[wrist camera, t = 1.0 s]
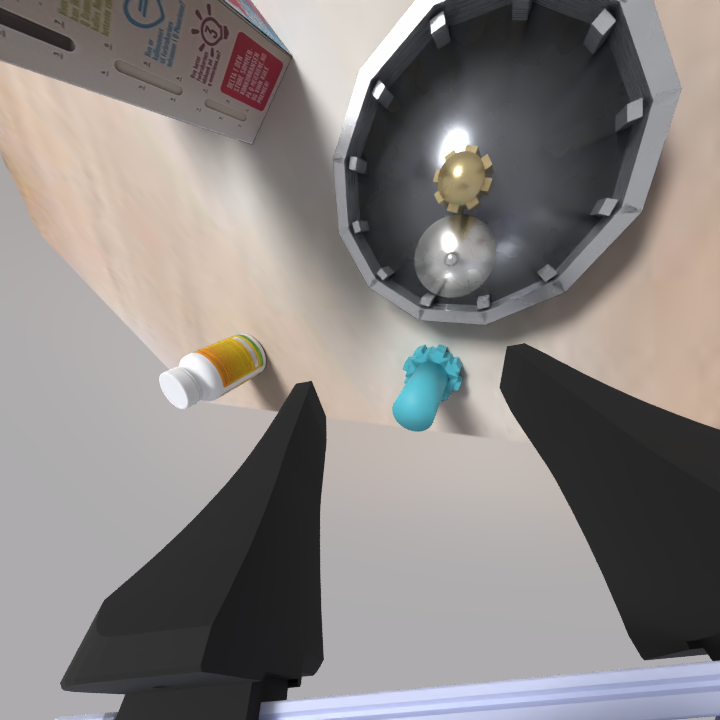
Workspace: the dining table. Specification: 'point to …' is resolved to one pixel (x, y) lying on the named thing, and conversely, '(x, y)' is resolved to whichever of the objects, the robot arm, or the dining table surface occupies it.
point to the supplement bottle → (213, 371)
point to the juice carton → (155, 55)
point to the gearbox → (500, 149)
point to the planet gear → (426, 386)
